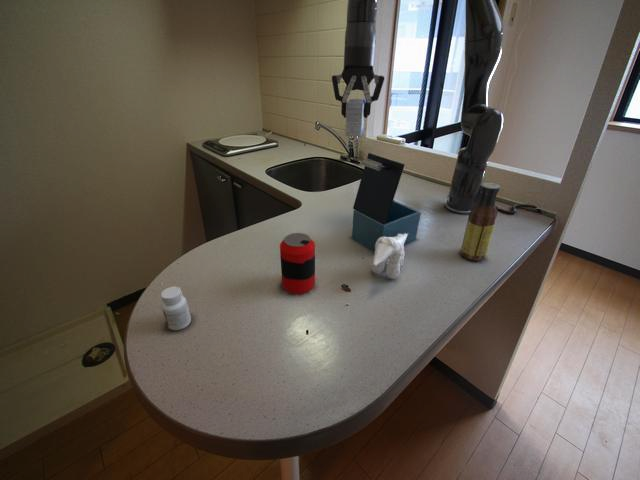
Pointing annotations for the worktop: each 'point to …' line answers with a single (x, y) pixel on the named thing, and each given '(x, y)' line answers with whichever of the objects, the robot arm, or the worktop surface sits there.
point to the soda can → (297, 263)
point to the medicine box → (354, 117)
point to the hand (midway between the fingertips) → (355, 117)
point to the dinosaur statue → (389, 255)
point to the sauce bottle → (480, 223)
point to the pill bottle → (175, 308)
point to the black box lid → (378, 187)
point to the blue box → (386, 225)
